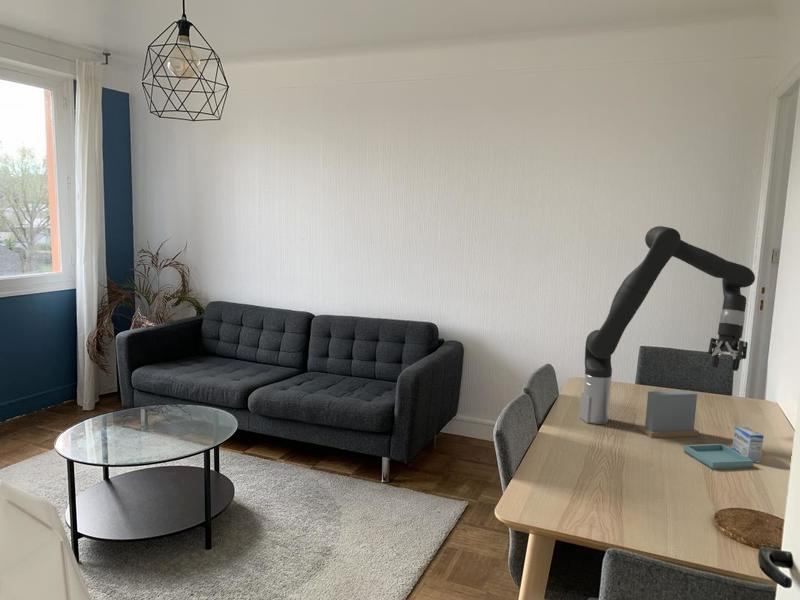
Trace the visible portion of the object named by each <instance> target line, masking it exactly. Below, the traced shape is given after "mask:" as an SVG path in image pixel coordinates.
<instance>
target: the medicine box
mask: <svg viewBox="0 0 800 600" xmlns="http://www.w3.org/2000/svg"><path fill="white" fill-rule="evenodd" d="M763 443H764V435H762V433H759V432H757V431H755V430H753V429H752V428H750V427H747V426H734V432H733V438H732V447H731V449H733V450H734V451H736V452H738V453H740V454H742V455H744V456H746V457H747V458H749V459H751V460H753V463H757V462H761V461H762V451H763Z"/></svg>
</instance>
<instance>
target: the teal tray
mask: <svg viewBox="0 0 800 600" xmlns="http://www.w3.org/2000/svg"><path fill="white" fill-rule="evenodd" d="M682 452H683V453H685V454H686V455H688V456H689V457H691V458H693V459H694V460H696V461H697V462H699V463H701V464H703V465H704V466H705V467H706V468H708V469H710V470H712V471H713V470H731V469H733V470H734V469H752V468H753V466H754V462H753V460H751V459H749V458H747V457H746V456H744V455H742V454H740V453H738V452H736V451H734V450H733V449H732V447H729V446H727V445H725V444H723V443H708V444H707V443H706V444H705V443H704V444H685V445H683V450H682Z"/></svg>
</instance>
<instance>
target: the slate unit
mask: <svg viewBox="0 0 800 600" xmlns="http://www.w3.org/2000/svg"><path fill="white" fill-rule="evenodd" d="M697 400H698V393H696V392H694V391H692V390H663V391H662V390H659V391H651V390H650V391H648V392H647V399H646V401H647V403H646V413H645V422H644V425H639V431H640V432H641V433H644V434H645V435H647V436H648V437H649V438H672V437H673V438H675V437H677V438H678V437H698V436H700V431H699V430H697V429H695V421H696V413H697V412H696V410H697V402H698V401H697Z"/></svg>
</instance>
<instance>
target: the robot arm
mask: <svg viewBox="0 0 800 600" xmlns="http://www.w3.org/2000/svg"><path fill="white" fill-rule="evenodd" d="M644 241H645V244H646V246H647V248H648V249H649V250H648V252H647V254H646V256H645V257H644V259H643V260H642V261H641V263H639V265H637V266H636V267H635V268H634V270H632V271H631V272H630V273H629V274H628V275H627V276H626V277H625V278H624V280H623V281H622V283H621V284H620V286H619V287H618V289H617V291H616V292H615V294H614V297H613V300H612V302H611V305H610V309H609V313H608V314H607V317H606V319H605V321H604V322H603V324H602V325H601V327H600V328H599V329H595V330H593V331H591V332H590V333H589V334H588V335H587V336H586V339H585V340H586V341H585V348H584V349H585V351H584V379H583V380H584V382H583V392H581V393H580V394H581V395H580V407H579V418H580V419H581V420H582V421H584V422H585V423H586V424H594V425H595V424H597V425H603V424H607V423H608V422H609V412H610V399H611V387H612V374H613V368H612V355H613V354H614V353H615V351H616V349H617V348H618V345H619V343H620V341H621V339H622V336H623V334H624V332H625V330H626V328H627V327H628V325H629V324H630V322H631V321H632V319H633V318H634V316H635V314H636V313H637V311H638V310H639V309H640V307H641V305H642V304H643V302H644V301H645V299H646V297H647V296H648V294H649V293H650V290H651V289H652V287H653V286H654V284H655V282H656V281H657V279H658V277H659V276H660V274H661V272H662V271H663V269H664V268H665V266H666V265H667V264H668V262H669V261H670V260H671V258H672V257H673V258H676V259H678V260H680V261H682V262H684V263H686V264H688V265H690V266H692V267H693V268H696V269H697V270H699V271H701V272H703V273H705V274H706V275H709V276H711V277H713V278H715V279H716V278H717V279H722V281H721V283H722V295H723V303H722V309H721V312H720V316H719V323H718V330H717V335H718V338H715V337H712V338H710V341H709V348H708V351H707V353H708V355H711V367H712V368H716V369H717V368H719V365H720V364H719V363H720V357H721V355H723V354H724V353H729V354H730V355H731V357H732V358H733V359H732V361H731V366H730V369H731V371H734V372H738V370H739V369H740V363H741V360H746V359H747V355H748V354H747V353H748V341H745V340H741V339H742V338H743V333H744V332H743V331H744V325H745V318H746V317H745V316H746V315H745V314H746V313H745V312H746V307H747V297H746V295H743V294H742V293H741V289H743V288H747V287H750V286H752V285H753V284H754V283H755V281H756V275H755V273H754V271H753V270H752V269H751V268H749V267H747V266H745V265H743V264H740V263H739V264H738V263H736V262H734V261H733V262H732V261H730V260H726V259H724V258H723V257H721V256H718V255H717V254H715V253H712V252H710V251H708V250H706V249H703V248H701V247H697V246H695V245H693V244H691V243H688V242H686V241H684V240H682V239H681V235H680V232H679V231H678V230H676V229H675V228H672V227H669V226H662V225H661V226H659V225H657V226H654V227H652V228H649V230H647V232H646V233H645V238H644Z"/></svg>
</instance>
